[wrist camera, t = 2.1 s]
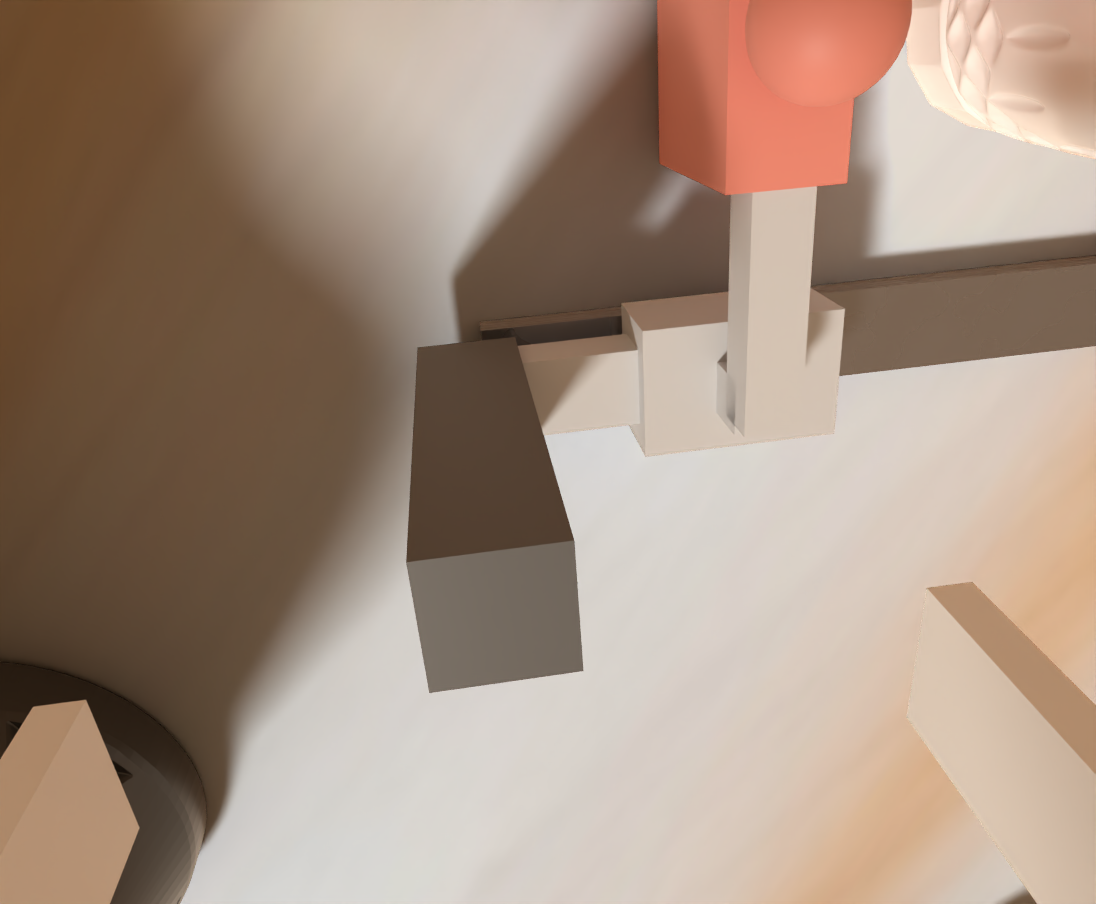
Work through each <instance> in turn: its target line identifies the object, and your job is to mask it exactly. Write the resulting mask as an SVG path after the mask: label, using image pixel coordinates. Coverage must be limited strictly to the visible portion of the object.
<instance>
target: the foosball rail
mask: <svg viewBox="0 0 1096 904" xmlns="http://www.w3.org/2000/svg"><path fill="white" fill-rule="evenodd" d="M810 288H812V289H813V290H815V291H817V292H818V293H820V294H822V295H823V296H825V297H826V298H828V299H830V300H831V301H833V302H835V303H836V304H838V305H839V306H841V307H843V308H844V309H845V314H844V326H843V337H842V349H841V360H840V372H839V376H843V375H852V374H860V373H869V372H877V371H886V370H894V369H903V368H911V367H920V366H928V365H937V364H946V363H954V362H963V361H971V360H980V359H988V358H997V357H1005V356H1014V355H1022V354H1031V353H1039V352H1048V351H1056V350H1065V349H1073V348H1082V347H1091V346H1096V255H1093V256H1084V257H1075V258H1066V259H1056V260H1047V261H1038V262H1029V263H1019V264H1010V265H1001V266H991V267H982V268H973V269H964V270H954V271H945V272H936V273H927V274H917V275H908V276H899V277H890V278H880V279H871V280H862V281H853V282H843V283H834V284H825V285H815V286H810ZM480 331H481V339H482V340H491V339H501V338H510V337H515V339H516V342H517V346H522V345H531V344H540V343H549V342H558V341H567V340H576V339H585V338H594V337H603V336H612V335H621V334H622V314H621V307H612V308H602V309H593V310H584V311H575V312H565V313H556V314H547V315H538V316H528V317H519V318H510V319H500V320H491V321H482V322H480Z"/></svg>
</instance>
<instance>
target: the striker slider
mask: <svg viewBox="0 0 1096 904" xmlns="http://www.w3.org/2000/svg"><path fill="white" fill-rule="evenodd" d="M911 16H912V0H657V21H658V94H659V164H661V165H663V166H665V167H668V168H670V169H672V170H674V171H676V172H678V173H680V174H682V175H684V176H686V177H688V178H691V179H693V180H695V181H697V182H699V183H701V184H703V185H705V186H707V187H709V188H711V189H713V190H716V191H718V192H720V193H722V194H724V195H731V208H730V252H729V292H720V293H710V294H701V295H692V296H683V297H673V298H664V299H655V300H645V301H636V302H627V303H621V314H622V334H621V335H612V336H603V337H594V338H585V339H576V340H567V341H558V342H549V343H540V344H531V345H522V346H517V342H516V339H515V337H510V338H501V339H491V340H482V341H473V342H464V343H455V344H446V345H437V346H428V347H419V348H418V351H417V370H416V389H415V408H414V427H413V446H412V465H411V484H410V503H409V522H408V541H407V559H406V563H407V569H408V574H409V580H410V586H411V591H412V597H413V603H414V608H415V614H416V620H417V625H418V631H419V637H420V642H421V648H422V653H423V659H424V665H425V670H426V676H427V682H428V687H429V693H432V692H439V691H446V690H453V689H460V688H467V687H474V686H481V685H488V684H495V683H502V682H509V681H516V680H523V679H530V678H537V677H544V676H551V675H558V674H565V673H572V672H579V671H583V660H582V645H581V631H580V617H579V603H578V588H577V574H576V560H575V545H574V538H573V535H572V531H571V528H570V524H569V521H568V518H567V514H566V511H565V507H564V504H563V500H562V497H561V494H560V490H559V487H558V483H557V480H556V476H555V473H554V469H553V466H552V463H551V459H550V456H549V452H548V449H547V445H546V442H545V438H544V435H550V434H559V433H567V432H575V431H584V430H592V429H601V428H609V427H617V426H626V425H629V426H630V428H631V430H632V432H633V434H634V436H635V438H636V440H637V442H638V443H639V445H640V447H641V449H642V451H643V453H644V455H645V457H647V456H655V455H664V454H672V453H680V452H688V451H696V450H704V449H712V448H720V447H729V446H737V445H745V444H753V443H761V442H769V441H777V440H786V439H794V438H802V437H810V436H818V435H826V434H834V430H835V418H836V406H837V395H838V383H839V372H840V360H841V349H842V337H843V326H844V314H845V309H844V308H843V307H841V306H839V305H838V304H836V303H835V302H833V301H831V300H830V299H828V298H826V297H825V296H823V295H822V294H820V293H818V292H817V291H815V290H813V289H812V288H810V286H811V271H812V256H813V241H814V226H815V211H816V196H817V186H825V185H835V184H845V183H847V178H848V166H849V154H850V142H851V129H852V117H853V105H854V98H855V97H857V96H859V95H861V94H862V93H864V92H865V91H867V90H868V89H869V88H871V87H872V86H873V85H874V84H876V83H877V82H878V81H879V80H880V79H881V78H882V77H883V76H884V75H885V74H886V72H887V71H888V70H889V69H890V68H891V66H892V65H893V63H894V62H895V60H896V59H897V57H898V55H899V53H900V51H901V49H902V47H903V45H904V43H905V40H906V37H907V34H908V31H909V27H910V22H911Z"/></svg>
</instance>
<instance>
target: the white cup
mask: <svg viewBox="0 0 1096 904" xmlns="http://www.w3.org/2000/svg"><path fill="white" fill-rule="evenodd" d="M906 44H907V63H908V66H909V67H910V69H911V71H912V73H913V75H914V76H915V78H916V80H917V82H918V84H919V86H920V87H921V89H922V91H923V93H924V95H925V97H926V98H927V100H928V102H929V104H930V105H932V106H933V107H935V108H937V109H939V110H940V111H942V112H944V113H946V114H948V115H949V116H951V117H953V118H955V119H956V120H958V121H960V122H962V123H963V124H965V125H967V126H971V127H975V128H980V129H985V130H990V131H995V132H999V133H1001V134H1004V135H1006V136H1009V137H1012V138H1015V139H1018V140H1021V141H1024V142H1028V143H1031V144H1036V145H1041V146H1046V147H1050V148H1053V149H1056V150H1059V151H1063V152H1066V153H1070V154H1074V155H1078V156H1083V157H1087V158H1092V159H1096V0H912V16H911V22H910V27H909V31H908V34H907V37H906Z"/></svg>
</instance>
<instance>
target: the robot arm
mask: <svg viewBox="0 0 1096 904" xmlns="http://www.w3.org/2000/svg"><path fill="white" fill-rule="evenodd" d="M907 719H908V720H909V721H910V723H911V724H912V726H913V727H914V729H915V730H916V731H917V733H918V734H919V736H920V737H921V739H922V740H923V741H924V743H925V744H926V746H927V747H928V749H929V750H930V751H931V753H932V754H933V756H934V757H935V759H936V760H937V761H938V763H939V764H940V766H941V767H942V769H943V770H944V771H945V773H946V774H947V776H948V777H949V779H950V780H951V781H952V783H953V784H954V786H955V787H956V789H957V790H958V791H959V793H960V794H961V796H962V797H963V799H964V800H965V801H966V803H967V804H968V806H969V807H970V809H971V810H972V812H973V813H974V814H975V816H976V817H977V819H978V820H979V822H980V823H981V824H982V826H983V827H984V829H985V830H986V832H987V833H988V834H989V836H990V837H991V839H992V840H993V842H994V843H995V844H996V846H997V847H998V849H999V850H1000V852H1001V853H1002V854H1003V856H1004V857H1005V859H1006V860H1007V862H1008V863H1009V864H1010V866H1011V867H1012V869H1013V870H1014V872H1015V873H1016V874H1017V876H1018V877H1019V879H1020V880H1021V882H1022V883H1023V884H1024V886H1025V887H1026V889H1027V890H1028V892H1029V893H1030V894H1031V896H1032V897H1033V899H1034V900H1035V902H1036V903H1037V904H1096V705H1095V704H1094V703H1093V702H1092V701H1091V700H1090V699H1089V698H1088V697H1087V696H1086V695H1085V694H1084V693H1083V692H1082V691H1081V690H1080V689H1079V688H1078V687H1077V686H1076V685H1075V684H1074V683H1073V682H1072V681H1071V680H1070V679H1069V678H1068V677H1067V676H1066V675H1065V674H1064V673H1063V672H1062V671H1061V670H1060V669H1059V668H1058V667H1057V666H1056V665H1055V664H1054V663H1053V662H1052V661H1051V660H1050V659H1049V658H1048V657H1047V656H1046V655H1045V654H1044V653H1043V652H1042V651H1041V650H1040V649H1039V648H1038V647H1037V646H1036V645H1035V644H1034V643H1033V642H1032V641H1031V640H1030V639H1029V638H1028V637H1027V636H1026V635H1025V634H1024V633H1023V632H1022V631H1021V630H1020V629H1019V628H1018V627H1017V626H1016V625H1015V624H1014V623H1013V622H1012V621H1011V620H1010V619H1009V618H1008V617H1007V616H1006V615H1005V614H1004V613H1003V612H1002V611H1001V610H1000V609H999V608H998V607H997V606H996V605H995V604H994V603H993V602H992V601H991V600H990V599H989V598H988V597H987V596H986V595H985V594H984V593H983V592H982V591H981V590H980V589H979V588H978V587H977V586H976V585H975V584H974V583H973V582H968V583H961V584H953V585H946V586H938V587H931V588H927V589H926V596H925V602H924V609H923V615H922V621H921V628H920V634H919V641H918V647H917V654H916V660H915V666H914V673H913V679H912V686H911V692H910V699H909V705H908V711H907ZM206 818H207V810H206V800H205V795H204V790H203V787H202V784H201V781H200V778H199V776H198V774H197V771H196V770H195V768H194V766H193V764H192V762H191V760H190V759H189V757H188V756H187V754H186V753H185V751H184V750H183V749H182V748H181V746H180V745H179V744H178V742H177V741H176V740H175V739H174V738H173V737H172V736H171V735H170V734H169V733H168V732H167V731H166V730H165V729H164V728H163V727H162V726H161V725H160V724H159V723H157V722H156V721H155V720H154V719H152V718H151V717H150V716H149V715H147V714H146V713H144V712H143V711H142V710H140V709H139V708H137V707H136V706H134V705H133V704H131V703H129V702H128V701H126V700H124V699H123V698H121V697H119V696H117V695H115V694H113V693H111V692H109V691H107V690H105V689H103V688H101V687H99V686H96V685H94V684H91V683H89V682H86V681H84V680H81V679H78V678H75V677H72V676H69V675H66V674H62V673H58V672H55V671H51V670H47V669H42V668H38V667H32V666H27V665H21V664H13V663H4V662H0V904H180V903H181V901H182V899H183V897H184V895H185V892H186V890H187V888H188V886H189V883H190V881H191V878H192V875H193V871H194V868H195V865H196V861H197V858H198V854H199V851H200V848H201V844H202V841H203V837H204V833H205V828H206Z"/></svg>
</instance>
